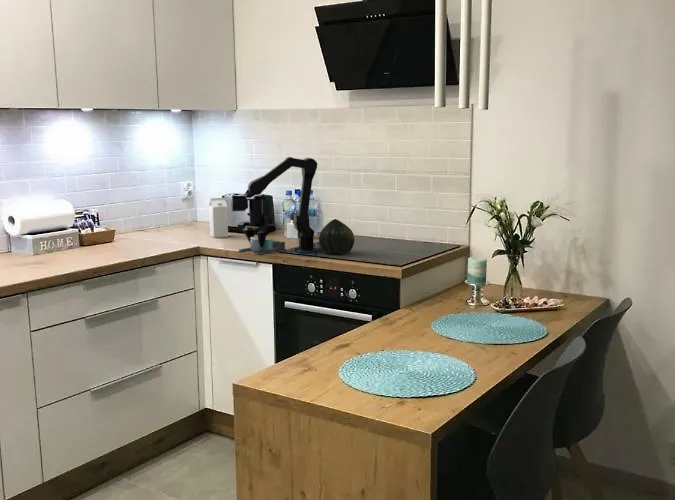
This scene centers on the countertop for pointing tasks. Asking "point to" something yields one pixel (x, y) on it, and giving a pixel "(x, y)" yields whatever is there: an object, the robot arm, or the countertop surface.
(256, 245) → the jar
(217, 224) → the milk carton
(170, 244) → the countertop surface
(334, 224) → the squash
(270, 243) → the teal foam pad
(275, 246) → the gray u-shaped archway
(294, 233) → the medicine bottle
